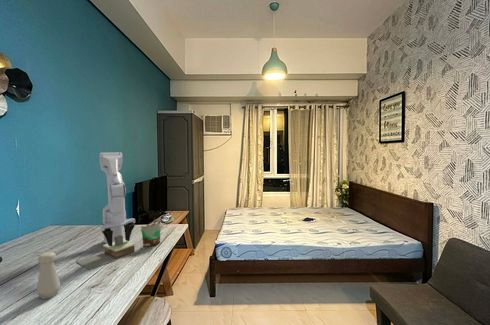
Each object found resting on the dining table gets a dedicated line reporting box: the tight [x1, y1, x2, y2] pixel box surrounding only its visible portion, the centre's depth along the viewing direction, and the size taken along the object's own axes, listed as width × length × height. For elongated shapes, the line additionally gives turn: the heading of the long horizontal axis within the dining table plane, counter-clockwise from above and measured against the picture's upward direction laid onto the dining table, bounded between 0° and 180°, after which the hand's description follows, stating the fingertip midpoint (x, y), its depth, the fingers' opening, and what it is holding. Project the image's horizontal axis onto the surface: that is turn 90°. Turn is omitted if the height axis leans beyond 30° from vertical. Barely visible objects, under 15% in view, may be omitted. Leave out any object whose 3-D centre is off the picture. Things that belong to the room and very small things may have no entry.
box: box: [103, 245, 135, 259], centre depth 112 cm, size 10×8×3 cm
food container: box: [140, 219, 163, 248], centre depth 122 cm, size 12×6×10 cm, turn 168°
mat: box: [75, 252, 117, 271], centre depth 103 cm, size 12×10×1 cm
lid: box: [102, 235, 136, 252], centre depth 112 cm, size 11×9×4 cm
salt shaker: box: [36, 251, 61, 300], centre depth 79 cm, size 6×6×13 cm
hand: (119, 243), depth 112 cm, fingers open, 7 cm apart
